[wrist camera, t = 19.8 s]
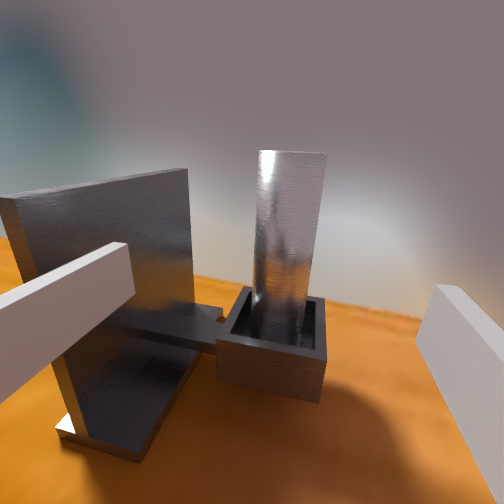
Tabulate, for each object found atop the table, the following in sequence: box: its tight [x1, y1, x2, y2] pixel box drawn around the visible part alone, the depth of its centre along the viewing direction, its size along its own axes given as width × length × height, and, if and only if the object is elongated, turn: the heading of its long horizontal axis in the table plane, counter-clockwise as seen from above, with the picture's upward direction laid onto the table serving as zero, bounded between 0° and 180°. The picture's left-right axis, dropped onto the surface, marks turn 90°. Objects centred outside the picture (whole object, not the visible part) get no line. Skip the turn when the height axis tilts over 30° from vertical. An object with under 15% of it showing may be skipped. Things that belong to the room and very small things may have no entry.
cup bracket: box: [0, 168, 327, 463], centre depth 23 cm, size 19×18×19 cm
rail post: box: [250, 150, 327, 347], centre depth 20 cm, size 4×4×16 cm
